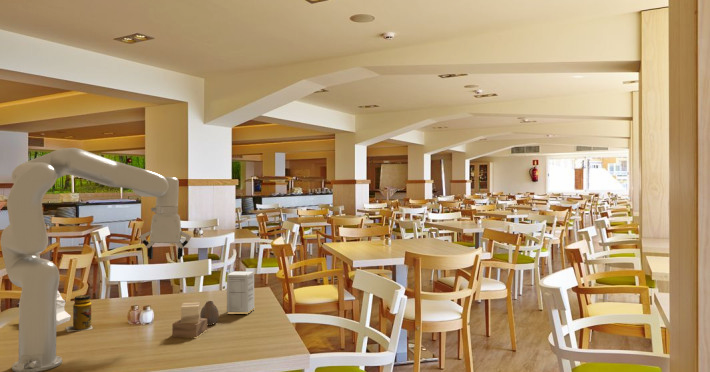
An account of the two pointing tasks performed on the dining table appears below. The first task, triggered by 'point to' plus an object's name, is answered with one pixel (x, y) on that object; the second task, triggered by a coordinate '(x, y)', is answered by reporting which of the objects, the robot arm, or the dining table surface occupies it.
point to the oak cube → (190, 313)
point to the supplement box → (240, 291)
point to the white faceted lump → (61, 311)
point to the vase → (210, 312)
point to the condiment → (81, 314)
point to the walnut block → (189, 328)
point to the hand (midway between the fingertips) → (165, 258)
